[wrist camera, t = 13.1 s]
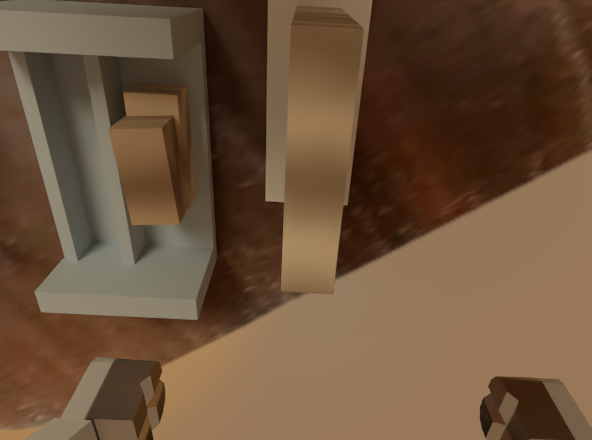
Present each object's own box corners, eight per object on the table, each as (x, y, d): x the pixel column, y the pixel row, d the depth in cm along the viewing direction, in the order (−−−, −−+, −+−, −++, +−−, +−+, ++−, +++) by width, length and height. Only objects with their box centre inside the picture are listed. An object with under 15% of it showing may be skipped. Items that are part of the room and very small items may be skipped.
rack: (28, -2, 29) (-62, 6, 22) (202, 8, 29) (169, 19, 22) (88, 251, 40) (41, 312, 33) (216, 258, 40) (197, 319, 33)
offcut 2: (124, 116, 29) (108, 129, 27) (173, 115, 29) (161, 128, 26) (145, 206, 33) (132, 225, 30) (189, 206, 32) (179, 224, 30)
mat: (268, -13, 28) (267, -13, 28) (372, -8, 29) (373, -7, 28) (265, 198, 36) (265, 201, 36) (346, 203, 37) (347, 205, 36)
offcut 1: (137, 83, 31) (122, 92, 28) (187, 85, 31) (177, 95, 28) (152, 194, 35) (141, 210, 33) (196, 196, 35) (188, 213, 33)
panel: (296, 5, 29) (290, 24, 17) (341, 7, 29) (363, 28, 17) (288, 191, 36) (280, 291, 24) (324, 193, 36) (333, 294, 24)
